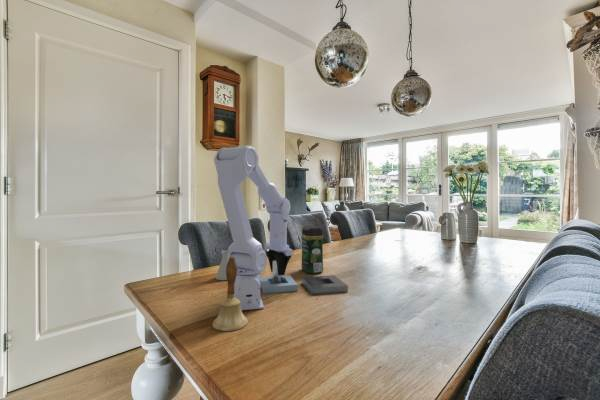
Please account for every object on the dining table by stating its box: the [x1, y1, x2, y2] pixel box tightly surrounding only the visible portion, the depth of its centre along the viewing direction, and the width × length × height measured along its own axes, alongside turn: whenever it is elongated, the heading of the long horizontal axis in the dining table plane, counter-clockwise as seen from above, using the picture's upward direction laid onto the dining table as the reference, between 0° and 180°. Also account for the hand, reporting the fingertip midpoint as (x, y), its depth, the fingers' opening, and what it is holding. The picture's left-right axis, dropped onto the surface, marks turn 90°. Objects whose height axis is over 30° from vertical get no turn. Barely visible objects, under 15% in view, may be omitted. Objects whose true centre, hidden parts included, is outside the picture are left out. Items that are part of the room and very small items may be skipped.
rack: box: [260, 274, 299, 294], centre depth 96 cm, size 11×11×2 cm
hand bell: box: [211, 257, 249, 332], centre depth 69 cm, size 8×8×16 cm
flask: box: [215, 249, 229, 281], centre depth 105 cm, size 7×7×10 cm
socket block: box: [301, 274, 349, 296], centre depth 96 cm, size 12×12×2 cm
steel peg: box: [272, 259, 285, 284], centre depth 96 cm, size 4×4×8 cm
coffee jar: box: [301, 224, 324, 275], centre depth 116 cm, size 10×8×19 cm
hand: (277, 273), depth 96 cm, fingers closed on steel peg, 4 cm apart
